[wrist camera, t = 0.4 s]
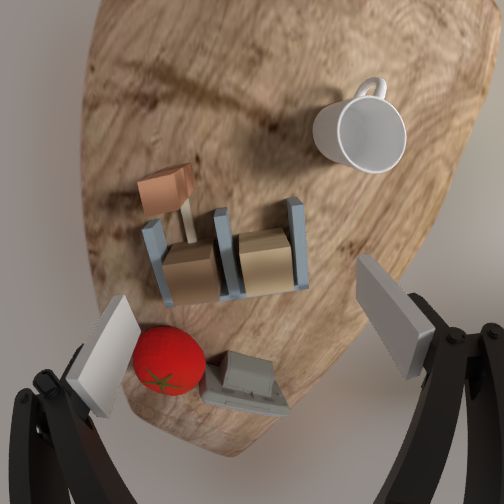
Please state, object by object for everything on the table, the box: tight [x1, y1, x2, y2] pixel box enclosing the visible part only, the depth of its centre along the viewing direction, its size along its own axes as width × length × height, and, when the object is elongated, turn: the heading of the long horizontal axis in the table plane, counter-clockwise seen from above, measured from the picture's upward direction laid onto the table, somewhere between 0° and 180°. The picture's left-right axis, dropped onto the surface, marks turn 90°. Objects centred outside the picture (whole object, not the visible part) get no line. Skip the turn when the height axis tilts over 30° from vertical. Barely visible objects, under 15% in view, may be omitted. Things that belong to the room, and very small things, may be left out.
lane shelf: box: [142, 197, 309, 308], centre depth 38 cm, size 12×20×4 cm, turn 98°
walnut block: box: [137, 163, 222, 306], centre depth 33 cm, size 17×6×11 cm, turn 8°
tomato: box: [133, 326, 206, 396], centre depth 41 cm, size 11×12×10 cm
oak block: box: [239, 227, 294, 297], centre depth 37 cm, size 6×6×7 cm
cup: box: [312, 77, 406, 174], centre depth 28 cm, size 8×12×10 cm
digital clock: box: [199, 351, 290, 417], centre depth 45 cm, size 16×9×11 cm, turn 56°
